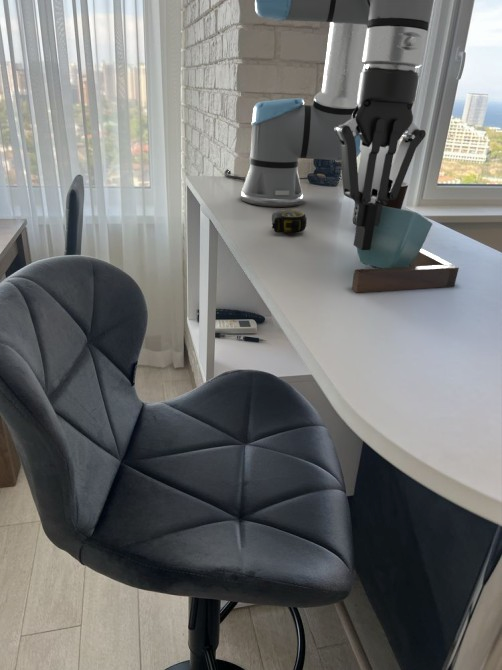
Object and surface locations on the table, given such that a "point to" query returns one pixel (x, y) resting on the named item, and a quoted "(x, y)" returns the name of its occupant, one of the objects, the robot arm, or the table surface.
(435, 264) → the bracket
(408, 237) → the flower pot
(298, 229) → the tape measure
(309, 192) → the table surface
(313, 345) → the table surface
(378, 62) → the robot arm
